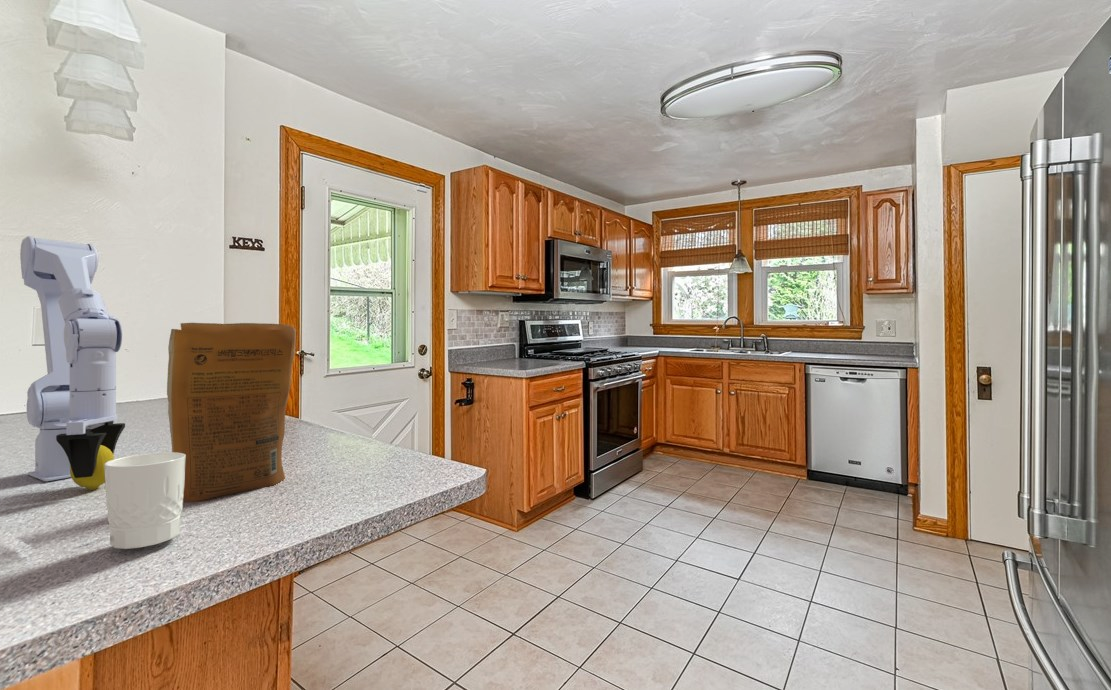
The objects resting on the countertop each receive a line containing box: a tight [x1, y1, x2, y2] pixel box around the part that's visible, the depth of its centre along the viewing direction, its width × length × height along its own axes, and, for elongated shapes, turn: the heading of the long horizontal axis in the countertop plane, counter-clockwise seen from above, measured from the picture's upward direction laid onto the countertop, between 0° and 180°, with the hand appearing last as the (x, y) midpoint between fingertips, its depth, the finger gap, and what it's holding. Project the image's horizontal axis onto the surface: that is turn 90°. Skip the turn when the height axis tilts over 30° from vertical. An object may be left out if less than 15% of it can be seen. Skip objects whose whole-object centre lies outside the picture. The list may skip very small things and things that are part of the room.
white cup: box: [104, 451, 186, 550], centre depth 63 cm, size 8×8×10 cm
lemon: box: [70, 445, 115, 491], centre depth 83 cm, size 6×6×8 cm
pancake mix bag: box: [166, 322, 297, 503], centre depth 82 cm, size 7×19×28 cm, turn 140°
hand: (93, 471), depth 83 cm, fingers open, 7 cm apart
